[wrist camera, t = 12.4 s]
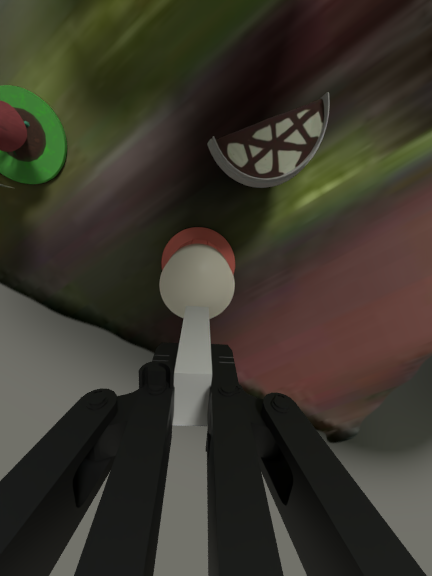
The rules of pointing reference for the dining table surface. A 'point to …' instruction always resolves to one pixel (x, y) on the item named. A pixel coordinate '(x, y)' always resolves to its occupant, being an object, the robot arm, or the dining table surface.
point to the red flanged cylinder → (199, 237)
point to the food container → (273, 146)
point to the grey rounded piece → (197, 280)
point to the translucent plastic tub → (29, 137)
